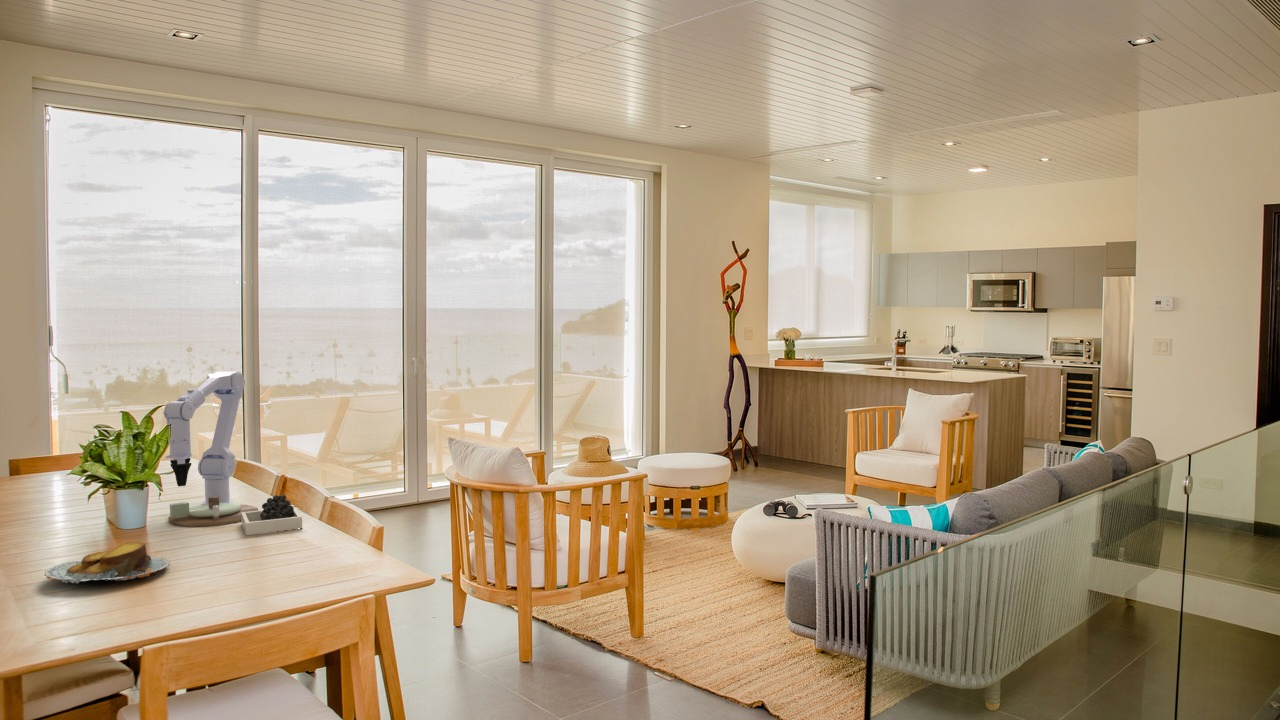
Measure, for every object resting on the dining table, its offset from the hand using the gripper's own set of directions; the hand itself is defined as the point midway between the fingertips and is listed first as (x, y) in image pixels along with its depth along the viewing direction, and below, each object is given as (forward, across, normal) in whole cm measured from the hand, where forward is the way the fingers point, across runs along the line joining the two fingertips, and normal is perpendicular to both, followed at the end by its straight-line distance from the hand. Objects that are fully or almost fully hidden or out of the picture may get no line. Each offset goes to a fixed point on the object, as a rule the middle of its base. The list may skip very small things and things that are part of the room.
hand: (181, 483), depth 270 cm
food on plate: (+11, +58, -17) cm, 61 cm away
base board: (+10, +4, +9) cm, 14 cm away
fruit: (+11, +26, +23) cm, 36 cm away
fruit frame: (+10, +26, +23) cm, 36 cm away
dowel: (+10, +14, +9) cm, 19 cm away
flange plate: (+9, +4, +6) cm, 12 cm away
